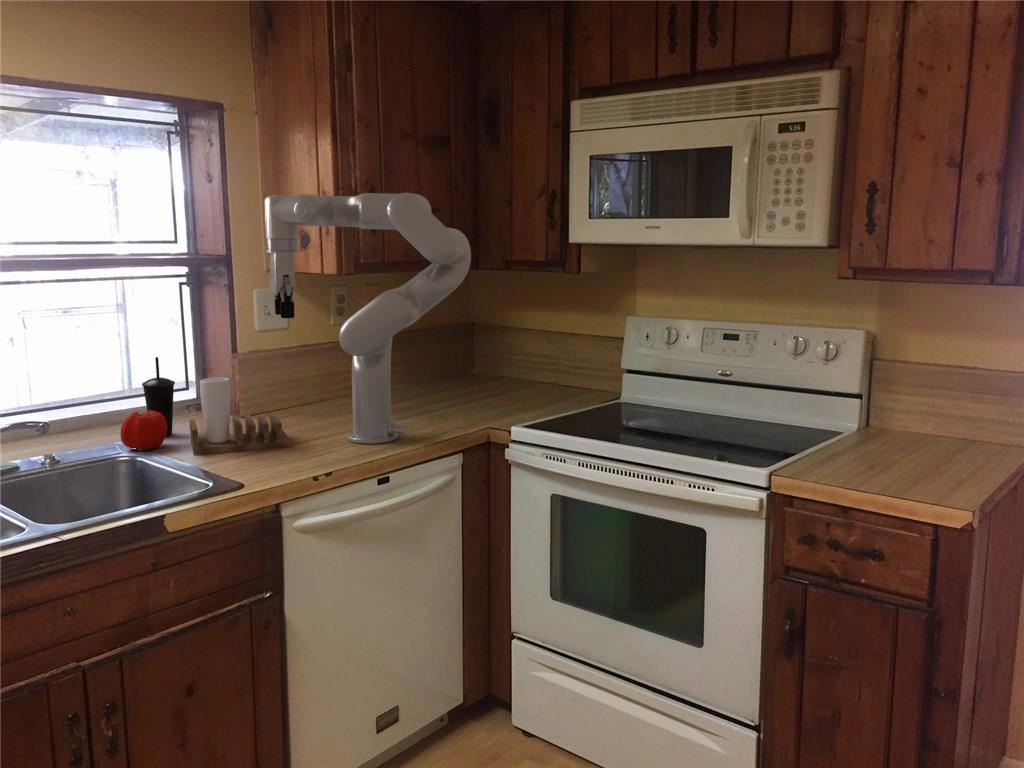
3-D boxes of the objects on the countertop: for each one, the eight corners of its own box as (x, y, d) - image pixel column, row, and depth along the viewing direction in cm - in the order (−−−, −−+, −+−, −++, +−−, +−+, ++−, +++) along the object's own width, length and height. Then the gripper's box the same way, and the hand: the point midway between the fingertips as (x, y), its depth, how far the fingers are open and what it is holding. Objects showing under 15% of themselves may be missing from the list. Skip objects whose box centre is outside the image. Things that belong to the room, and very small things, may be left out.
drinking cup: (180, 431, 221) (175, 354, 217) (175, 438, 213) (170, 359, 210) (148, 432, 219) (143, 355, 215) (142, 439, 212) (137, 360, 208)
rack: (283, 435, 217) (282, 412, 216) (290, 446, 207) (289, 422, 205) (190, 443, 209) (189, 419, 208) (193, 455, 198) (192, 429, 197)
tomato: (158, 440, 211) (155, 406, 210) (176, 449, 203) (173, 413, 202) (113, 447, 204) (110, 412, 203) (130, 456, 196) (127, 419, 195)
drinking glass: (224, 445, 201) (220, 382, 198) (197, 444, 202) (193, 381, 199) (238, 438, 208) (234, 377, 205) (212, 437, 209) (208, 376, 206)
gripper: (261, 246, 217) (264, 313, 220) (271, 247, 201) (274, 320, 204) (291, 246, 220) (294, 312, 223) (303, 247, 204) (306, 319, 207)
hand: (284, 316), depth 213 cm, fingers open, 9 cm apart
